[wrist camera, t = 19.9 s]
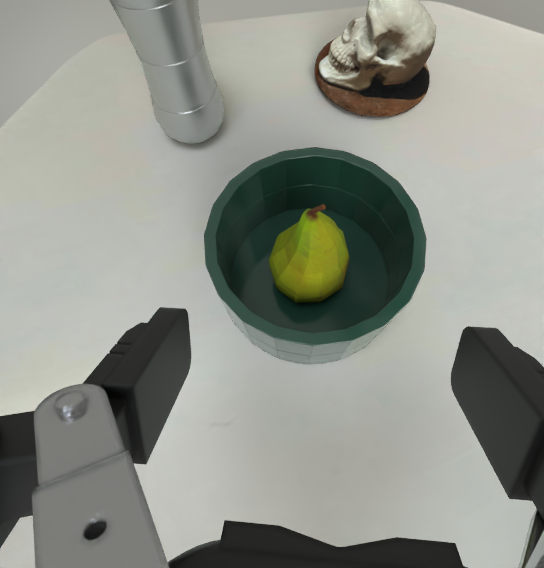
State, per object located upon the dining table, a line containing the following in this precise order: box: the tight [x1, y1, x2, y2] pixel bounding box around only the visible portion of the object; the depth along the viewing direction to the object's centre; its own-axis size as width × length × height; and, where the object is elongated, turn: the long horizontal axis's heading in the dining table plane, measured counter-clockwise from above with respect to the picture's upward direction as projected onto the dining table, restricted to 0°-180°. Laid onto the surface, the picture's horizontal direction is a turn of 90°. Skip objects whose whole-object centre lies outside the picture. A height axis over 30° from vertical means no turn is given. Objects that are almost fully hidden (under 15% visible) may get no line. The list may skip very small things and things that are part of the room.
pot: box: [204, 147, 426, 364], centre depth 28 cm, size 15×15×8 cm
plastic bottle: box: [109, 0, 224, 144], centre depth 29 cm, size 6×7×20 cm
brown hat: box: [315, 0, 436, 116], centre depth 38 cm, size 12×10×10 cm
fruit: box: [269, 204, 349, 303], centre depth 26 cm, size 6×6×12 cm
